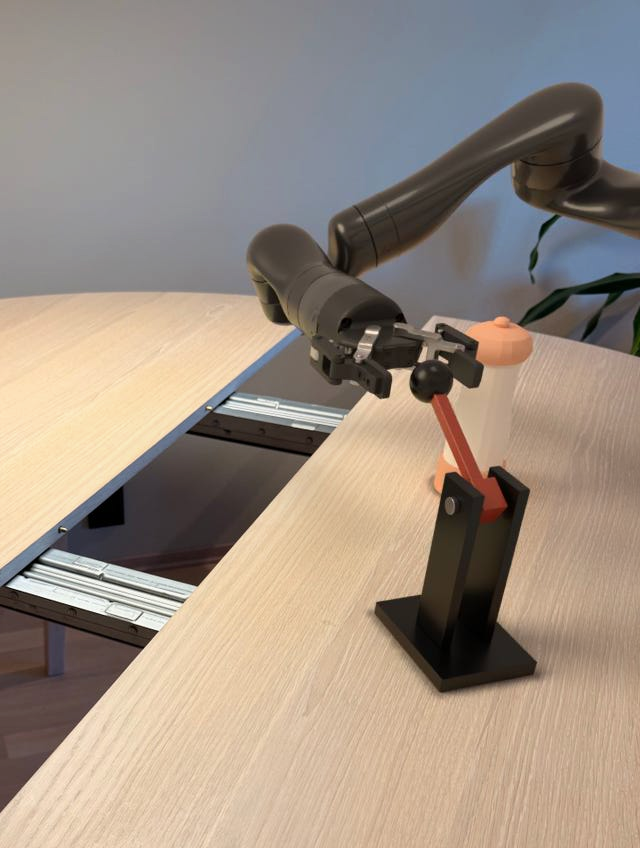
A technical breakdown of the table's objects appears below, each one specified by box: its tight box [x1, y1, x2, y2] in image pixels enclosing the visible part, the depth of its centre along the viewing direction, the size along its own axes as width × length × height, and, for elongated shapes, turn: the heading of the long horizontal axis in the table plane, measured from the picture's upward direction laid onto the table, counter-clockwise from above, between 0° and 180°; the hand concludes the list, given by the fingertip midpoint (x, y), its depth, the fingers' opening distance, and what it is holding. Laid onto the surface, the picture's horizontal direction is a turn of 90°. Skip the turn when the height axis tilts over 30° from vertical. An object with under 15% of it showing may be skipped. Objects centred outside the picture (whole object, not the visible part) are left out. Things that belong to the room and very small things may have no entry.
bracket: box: [373, 466, 538, 693], centre depth 82 cm, size 12×9×16 cm
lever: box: [408, 359, 508, 524], centre depth 81 cm, size 15×4×4 cm, turn 16°
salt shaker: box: [433, 316, 534, 495], centre depth 105 cm, size 7×7×19 cm
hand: (432, 382), depth 83 cm, fingers open, 8 cm apart
